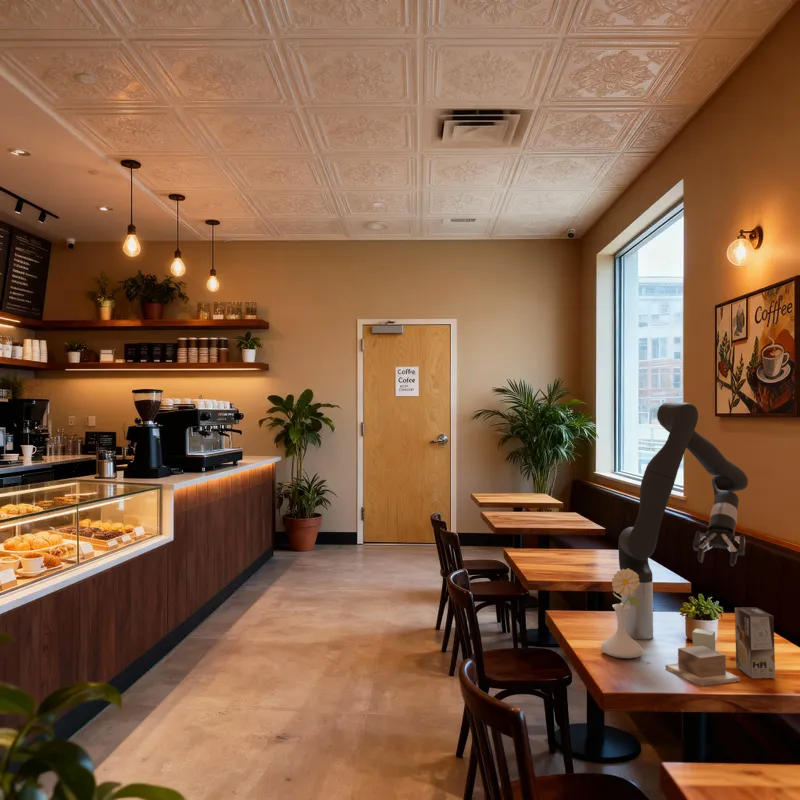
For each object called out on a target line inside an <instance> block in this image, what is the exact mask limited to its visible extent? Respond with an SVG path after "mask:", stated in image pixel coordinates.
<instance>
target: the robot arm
mask: <svg viewBox="0 0 800 800" xmlns="http://www.w3.org/2000/svg"><path fill="white" fill-rule="evenodd" d="M656 417H657V422H658V423H659V425H660V426H661V427H662V428H663V429H665V430H666V431H667V432H669V434H668V436H667V439H666V440H665V443H664V445H662V446H661V448H660V449H659V450H658V452H656V453H655V455H654V456H653V457H652V459H650V461H649V462H648V463H647V465H646V468H645V471H644V473H643V477H642V480H641V482H640V489H639V509H638V514H637V517H636V520H635V523H634V525H633V526H629V527H627V528H624V529H623V530H622V531H621V533H620V535H619V537H618V565H619V571H621V570H622V569H624V570H626V569H628V568H629V569H630V570H633V572H635V573H637V574H638V575H639V577H638V578H639V582H640V585H639V586H638V588H637V589H635V592H634V593H633V594H631V595H630V597H633V596H635V597H636V598H637V599H638V601H639V602H640V604H641V605H636V606H633V605H631V604H630V602H629V599H628V596H629V594H627V595H626V596H621V598H622V599H623V600H624V602H623V601H622V600H621V602H619V604H624V603H625V602H626V600H627V599H628V601H627V602H626V604H625V605H628V606H630V607H631V608H630V609H629V611H628V613H627V616H626V631H627V634H628V635H629V636H630V637H631V638H632V639H633V640H650V639H653V638H654V600H653V598H654V595H653V592H654V591H653V590H654V589H653V588H654V587H653V572H652V570H651V567H650V564H649V558H650V557H651V556H652V555H653V554H654V552H655V550H656V547H657V543H658V538H659V533H660V529H661V524H662V520H663V517H664V514H665V511H666V509H667V505H668V502H669V500H670V496H671V493H672V492H673V488H674V484H675V482H676V478H677V475H678V471H679V469H680V466H681V463H682V461H683V457H684V455H685V452H686V449H687V450H688V451H689V452H690V453H691V454H692V455H693V456H694V457H695V459H696V460H697V461H698V462H699V463H700V465H701V466H702V468H704V470H705V471H706V472H707V473H708V474H709V475H712V479H711V485H712V489H713V495H714V496H713V497H714V500H713V505H712V509H711V511H710V516H709V521H708V522H709V523H708V527H707V531H706V533H703V532H701V531H700V530H696V531H695V535H694V538H693V542H692V547H693V550H694V551H695V552H697V556H696V557H697V559H698V562H699V563H701V564H702V563H703V562H704V557H705V552H707V551H709V550H711V549H712V548H713V549H723V550H726V549H727V550H728V551H729V552H730V558H729V565H730V567H734V565H736V564H737V559H738V556H746V555H745V554H746V553H745V552H746V537H745V534H740V535H738V536H737V535H736V534H735V533H736V526H737V524H738V523H737V522H738V508H739V497H738V495H737V494H736V493H735V492H740V491H743V490H745V489H746V488H747V487H748V485H749V479H748V476H747V475H746V473H745V471H744V470H742V469H741V468H740V467H738V466H737V465H736V464H734V463H733V462H731V461H730V460H728V459H727V458H726V457H725V456H724V455H723V454H722V452H721V451H720V450H719V449H718V448H717V447H716V446H715V444H713V443H712V442H711V441H709V439H707V438H705V437H704V436H703V435H701V434H700V433H699V432H698V431H696V430H695V429H696V427H697V424H698V419H699V412H698V409H697V407H696V406H695V405H694V404H693V403H690V402H683V401H666V402H663V403H662V404H661V405H660V406H659V407H658V409H657V412H656ZM703 539H704V540H703ZM701 541H703V542H702V543H701ZM735 542H737V543H738V544H739V546H738V548H736V547H735V545H734V544H733V543H735ZM630 597H629V598H630Z"/></svg>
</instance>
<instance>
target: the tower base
mask: <svg viewBox="0 0 800 800" xmlns="http://www.w3.org/2000/svg"><path fill="white" fill-rule="evenodd" d="M677 653H678V654H677V659H678V660H677V661H678V662H677V663H670V664H665V670H666V671H667V670H668V672H669V671H670V672H671V673H673V674H675V675H678V676H679V677H681V678H684V679H685V680H688V681H690V682H692V683H693V684H695V685H698V686H699V687H707V686H708V687H709V686H715V685H716V686H717V685H722V684H728V683H729V684H730V682H731V683H737V682H736V681H738V682H741V681H740V679H741V678H740V676H738V675H735V674H733V673H731V672H728V671H727V668H726V667H727V666H726V664H727V663H726V662H727V661H726V654H724V653H721V652H719V651H717V650H716V649H715V650H712V649H710V648H707V647H705V646H693V645H692V646H686V647H679V648H677Z"/></svg>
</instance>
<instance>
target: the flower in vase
mask: <svg viewBox="0 0 800 800" xmlns="http://www.w3.org/2000/svg"><path fill="white" fill-rule="evenodd" d="M638 577H639V575H638V574H637V573H635V572H633V570H630V569H629V568H628V569H626V570H624V569H622V570H617V571H616V573H615V574H613V577H612V578H611V583H612V584H611V585H612V594H613V595H614V597H616V598H617V599H619V600H620V601H621V602H622V601H623V602H624V600H623V599H622V596H626V595H627V594H629V596H628V599H629V602H630V604H631V605H633V606H636V605H641V604H640V602H639V601H638V599H637V598H636V597H635V596H633V597H630V595H631V594H633V593H634V592H635V589H637V588H638V586H639V585H640V582H639V578H638ZM617 594H619V596H618V595H617ZM620 596H621V597H620ZM629 597H630V598H629ZM628 599H627V600H626V602H627V601H628ZM626 602H625V603H624V604H620V603H615V604H611V605H612V608H613V610H614V611H615V614H616V621H617V629H616V632H615V633H614V634H612V635H611V636H610V637H608V638H607V639H606V640H604V641H603V643H602V644H601V646H600V648H601V650H602V651H603V653H605V654H606V655H609V656H611V657H614V658H618V659H634V658H639V657H641V656H642V654H644V650H643V648H642V646H641V645H640V644H639V643H638V642H637V641H636V639H634V638H631V637H630V636H629V635H628V634H627V631H626V616H627V613H628V611H629V609H630V608H631V607H630V606H628V605H625V604H626Z"/></svg>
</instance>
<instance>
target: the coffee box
mask: <svg viewBox="0 0 800 800" xmlns="http://www.w3.org/2000/svg"><path fill="white" fill-rule="evenodd" d="M774 620H775V616H774V615H772V614H770V613H768V612H766V611H765V610H762V609H761V608H759V607H753V606H751V607H750V606H746V607H745V606H742V607H739V606H738V607H734V622H735V623H734V624H735V625H734V626H735V631H734V632H735V634H734V635H735V664H736V665H735V666H736V668H737V669H739V670H740V671H741V672H743V673H745V675H747V676H748V677H750V678H751V679H761V678H766V679H767V678H773V679H772V680H774V678H775V679H776V664H775V663H776V659H775V655H776V654H775V651H776V650H775V621H774ZM767 680H768V679H767Z"/></svg>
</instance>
